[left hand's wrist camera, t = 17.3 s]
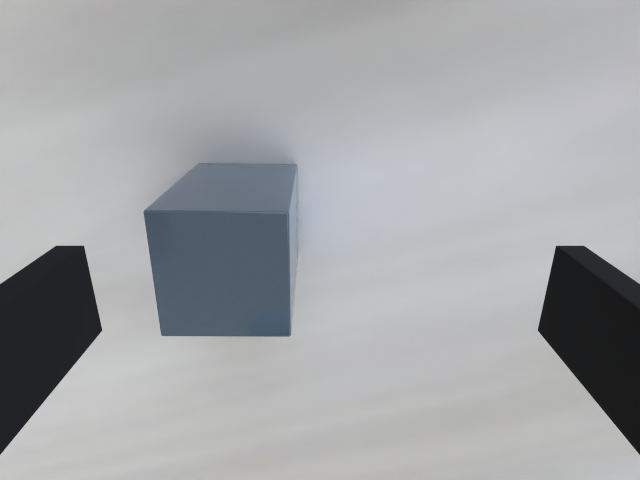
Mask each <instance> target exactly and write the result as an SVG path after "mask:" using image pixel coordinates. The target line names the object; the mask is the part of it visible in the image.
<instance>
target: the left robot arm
mask: <svg viewBox="0 0 640 480" xmlns="http://www.w3.org/2000/svg"><path fill="white" fill-rule="evenodd" d="M101 331H102V327H101V323H100V318H99V314H98V309H97V304H96V300H95V295H94V291H93V286H92V281H91V277H90V272H89V268H88V263H87V258H86V254H85V249H84V246H55V247H54V248H52V249H51V250H49V251H48V252H47V253H45V254H44V255H42V256H41V257H39V258H38V259H36V260H35V261H33V262H32V263H31V264H29V265H28V266H26V267H25V268H23V269H22V270H20V271H19V272H17V273H16V274H15V275H13V276H12V277H10V278H9V279H7V280H6V281H4V282H3V283H1V284H0V454H1V453H2V452H3V451H4V449H5V448H6V447H7V446H8V445H9V443H10V442H11V441H12V440H13V438H14V437H15V436H16V435H17V434H18V432H19V431H20V430H21V429H22V427H23V426H24V425H25V424H26V423H27V421H28V420H29V419H30V418H31V416H32V415H33V414H34V413H35V412H36V410H37V409H38V408H39V407H40V406H41V404H42V403H43V402H44V401H45V399H46V398H47V397H48V396H49V395H50V393H51V392H52V391H53V390H54V388H55V387H56V386H57V385H58V384H59V382H60V381H61V380H62V379H63V378H64V376H65V375H66V374H67V373H68V371H69V370H70V369H71V368H72V367H73V365H74V364H75V363H76V362H77V360H78V359H79V358H80V357H81V356H82V354H83V353H84V352H85V351H86V349H87V348H88V347H89V346H90V345H91V343H92V342H93V341H94V340H95V339H96V337H97V336H98V335H99V334H100V332H101ZM538 331H539V332H540V334H541V335H542V336H543V337H544V339H545V340H546V341H547V342H548V343H549V345H550V346H551V347H552V348H553V349H554V351H555V352H556V353H557V354H558V356H559V357H560V358H561V359H562V360H563V362H564V363H565V364H566V365H567V367H568V368H569V369H570V370H571V371H572V373H573V374H574V375H575V376H576V378H577V379H578V380H579V381H580V382H581V384H582V385H583V386H584V387H585V388H586V390H587V391H588V392H589V393H590V395H591V396H592V397H593V398H594V399H595V401H596V402H597V403H598V404H599V406H600V407H601V408H602V409H603V410H604V412H605V413H606V414H607V415H608V416H609V418H610V419H611V420H612V421H613V423H614V424H615V425H616V426H617V427H618V429H619V430H620V431H621V432H622V434H623V435H624V436H625V437H626V438H627V440H628V441H629V442H630V443H631V445H632V446H633V447H634V448H635V449H636V451H637V452H638V453H639V454H640V284H639V283H637V282H636V281H634V280H633V279H631V278H630V277H628V276H627V275H625V274H624V273H623V272H621V271H620V270H618V269H617V268H615V267H614V266H612V265H611V264H609V263H608V262H607V261H605V260H604V259H602V258H601V257H599V256H598V255H596V254H595V253H593V252H592V251H591V250H589V249H588V248H586V247H585V246H556V249H555V254H554V258H553V263H552V268H551V272H550V277H549V281H548V286H547V291H546V295H545V300H544V304H543V309H542V314H541V318H540V323H539V327H538Z"/></svg>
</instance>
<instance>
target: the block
mask: <svg viewBox="0 0 640 480" xmlns="http://www.w3.org/2000/svg"><path fill="white" fill-rule="evenodd" d="M144 218H145V225H146V232H147V239H148V245H149V252H150V259H151V266H152V273H153V280H154V287H155V294H156V301H157V308H158V315H159V322H160V329H161V335H162V336H288V337H289V336H291V328H292V317H293V305H294V293H295V282H296V270H297V258H298V213H297V165H296V164H216V163H199V164H197V165H196V166H195V167H194V168H193V169H192V170H190V171H189V172H188V173H187V174H186V175H185V176H184V177H182V178H181V179H180V180H179V181H178V182H177V183H175V184H174V185H173V186H172V187H171V188H170V189H168V190H167V191H166V192H165V193H164V194H163V195H162V196H160V197H159V198H158V199H157V200H156V201H155V202H153V203H152V204H151V205H150V206H149V207H148V208H146V209H145V210H144Z"/></svg>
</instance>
